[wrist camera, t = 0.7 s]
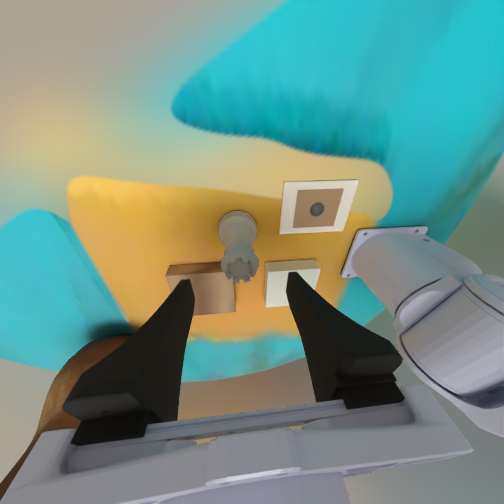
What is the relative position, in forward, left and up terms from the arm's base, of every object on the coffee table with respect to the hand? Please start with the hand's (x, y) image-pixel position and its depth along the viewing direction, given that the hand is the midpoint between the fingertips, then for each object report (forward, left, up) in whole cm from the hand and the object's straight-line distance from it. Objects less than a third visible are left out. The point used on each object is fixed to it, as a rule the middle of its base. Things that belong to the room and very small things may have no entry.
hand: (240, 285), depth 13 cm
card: (-9, -2, -9) cm, 13 cm away
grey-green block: (-7, +9, -9) cm, 15 cm away
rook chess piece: (0, 0, -10) cm, 10 cm away
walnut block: (+5, +9, -9) cm, 14 cm away
